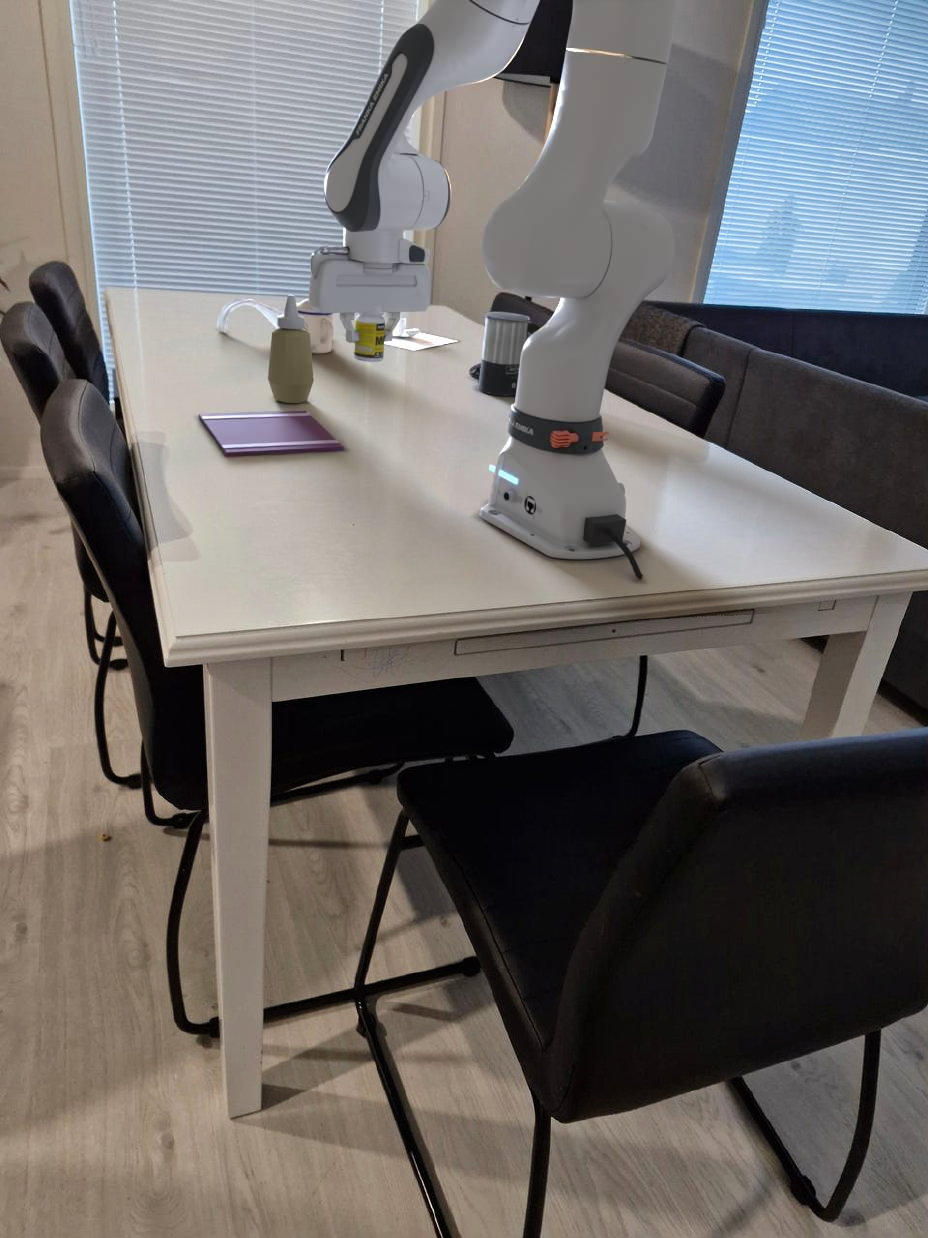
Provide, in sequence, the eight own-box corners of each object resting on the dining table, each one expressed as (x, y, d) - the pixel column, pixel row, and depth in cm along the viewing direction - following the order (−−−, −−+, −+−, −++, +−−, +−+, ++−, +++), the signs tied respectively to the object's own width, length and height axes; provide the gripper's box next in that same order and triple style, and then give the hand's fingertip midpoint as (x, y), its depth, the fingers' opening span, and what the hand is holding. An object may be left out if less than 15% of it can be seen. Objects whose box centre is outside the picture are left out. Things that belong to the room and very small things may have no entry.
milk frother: (504, 399, 173) (513, 321, 166) (441, 381, 181) (448, 306, 174) (542, 389, 183) (552, 316, 176) (481, 373, 191) (489, 302, 184)
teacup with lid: (283, 346, 196) (283, 291, 190) (318, 343, 201) (319, 290, 196) (313, 358, 188) (314, 301, 183) (348, 355, 194) (350, 300, 188)
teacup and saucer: (423, 336, 220) (425, 320, 219) (405, 340, 214) (406, 323, 212) (395, 330, 224) (396, 314, 222) (377, 333, 218) (377, 317, 216)
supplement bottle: (378, 363, 138) (381, 307, 134) (349, 359, 138) (351, 304, 134) (386, 358, 142) (389, 303, 138) (359, 354, 142) (360, 300, 139)
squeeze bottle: (258, 399, 156) (256, 292, 147) (286, 391, 162) (286, 289, 154) (295, 408, 153) (295, 300, 144) (322, 400, 159) (324, 296, 151)
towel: (344, 450, 135) (344, 446, 135) (226, 456, 127) (226, 451, 127) (305, 413, 150) (305, 409, 150) (198, 417, 143) (198, 413, 142)
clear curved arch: (305, 325, 219) (305, 295, 216) (324, 335, 211) (325, 304, 207) (212, 326, 207) (210, 294, 204) (229, 336, 198) (228, 303, 195)
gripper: (321, 248, 124) (320, 347, 131) (439, 251, 136) (433, 343, 142) (301, 242, 129) (301, 339, 135) (417, 246, 140) (411, 335, 146)
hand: (369, 341), depth 139 cm, fingers closed on supplement bottle, 5 cm apart
